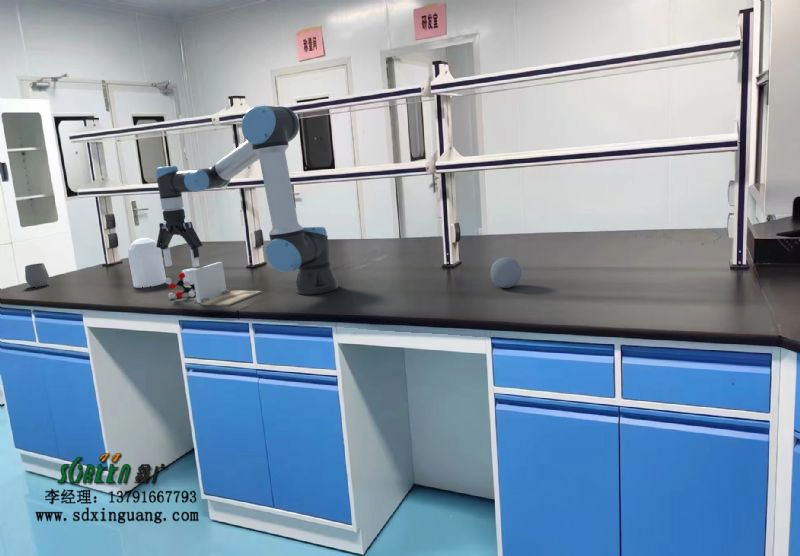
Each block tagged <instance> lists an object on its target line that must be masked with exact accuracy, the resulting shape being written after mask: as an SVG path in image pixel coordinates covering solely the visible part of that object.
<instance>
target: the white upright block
mask: <svg viewBox="0 0 800 556" xmlns="http://www.w3.org/2000/svg"><path fill="white" fill-rule="evenodd" d="M198 268H199V267H191V268H186V269H182V270H181V273H184V274H185V278H183V279H182V281H183V282H184V281H185V280H188V281H189V282H190V284H191V285H193V284H194V280H193V274H192V270H194V269H198ZM184 286H185V285H184ZM185 287H189V288H190V287H191V286H189V285H188V286H185ZM190 292H191V290H190Z"/></svg>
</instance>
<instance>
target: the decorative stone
mask: <svg viewBox="0 0 800 556" xmlns="http://www.w3.org/2000/svg"><path fill="white" fill-rule="evenodd" d="M489 271H490V278H491V280H492V282H493V283H494V285H496V286H497V287H500V288H504V289H509V288H512V287H514V286H515V285H517V284H518V283H519V281H520V280H521V277H522V267H521V265H520V264H519V263H518V261H517V260H515V259H514V258H511V257H507V256H504V257H501V258H498V259H496V260H495V261H494V262H493V263H492V265H491V267H490V270H489Z"/></svg>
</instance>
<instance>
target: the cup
mask: <svg viewBox="0 0 800 556" xmlns="http://www.w3.org/2000/svg"><path fill="white" fill-rule="evenodd" d="M24 271H25V274H24V276H25V277H24V278H25V282H26V283H27V284H28V285H29V287H30V288H33V287H35V288H42V287H45V286H47V284H48V282H49V280H50V275H49V272H48V270H47V268H46V266H45V263H43V262H42V263H33V264H29V265H27V264H26V265H25V267H24ZM41 286H42V287H41Z"/></svg>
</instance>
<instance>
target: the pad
mask: <svg viewBox="0 0 800 556" xmlns="http://www.w3.org/2000/svg"><path fill="white" fill-rule="evenodd" d="M262 292H263V291H262V290H241V289H239V290H237V289H236V290H235V289H234V290H231V291H230V292H228V293H226V294H223V295H220V296H218V297H215V298H212V299H210V300H207V301H204V302H202V303H199V304H200V306H217V307H218V306H223V307H230V306H233V305H236V304H237V303H239V302H242V301H244V300H247V299H249V298H251V297H255V296H257V295H259V294H260V295H261V294H262Z"/></svg>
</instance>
